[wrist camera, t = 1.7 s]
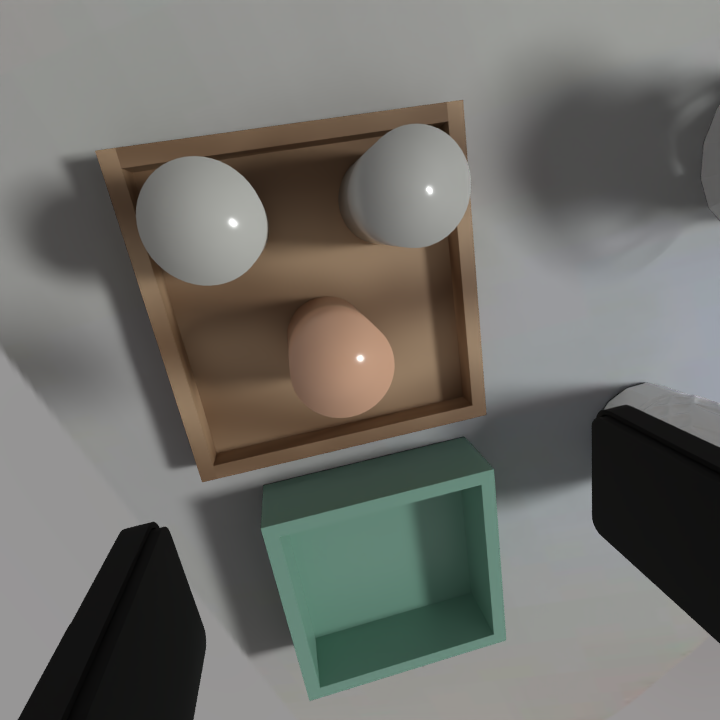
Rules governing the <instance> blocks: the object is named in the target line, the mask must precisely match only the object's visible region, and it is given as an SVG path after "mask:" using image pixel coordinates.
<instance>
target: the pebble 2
mask: <svg viewBox="0 0 720 720" xmlns="http://www.w3.org/2000/svg"><path fill="white" fill-rule="evenodd" d="M470 193H471V176H470V170H469V166H468V163H467V160H466V158H465V155H464V154H463V152H462V150H461V148H460V147H459V146H458V144H457V143H456V142H455V141H454V140H453V139H452V138H451V137H450V136H449V135H448V134H446V133H445V132H443V131H442V130H440V129H438V128H436V127H433V126H430V125H426V124H408V125H403V126H400V127H397V128H395V129H393V130H391V131H389V132H388V133H386V134H385V135H384V136H383V137H381V138H380V139H379V140H378V141H377V142H376V143H375V144H374V145H373V146H372V147H371V148H369V149H368V150H367V151H366V152H365V153H364V154H363V155H362V156H361V157H360V158H359V159H358V160H357V161H355V162H354V163H353V164H352V165H351V166H350V167H349V169H348V170H347V171H346V173H345V175H344V177H343V179H342V181H341V184H340V188H339V194H338V202H339V209H340V213H341V216H342V219H343V220H344V222H345V224H346V226H347V227H348V228H349V230H350V231H351V232H352V233H353V234H354V235H356V236H357V237H358V238H360V239H362V240H364V241H366V242H369V243H373V244H380V245H389V246H398V247H407V248H421V247H426V246H430V245H432V244H435V243H437V242H439V241H441V240H442V239H444V238H445V237H447V236H448V235H449V234H450V233H451V232H452V231H453V230H454V229H455V228H456V227H457V225H458V224H459V223H460V221H461V219H462V218H463V216H464V214H465V212H466V209H467V206H468V203H469V199H470Z"/></svg>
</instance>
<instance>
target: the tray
mask: <svg viewBox="0 0 720 720" xmlns="http://www.w3.org/2000/svg"><path fill="white" fill-rule="evenodd" d="M408 124H426V125H430V126H433V127H436V128H438V129H440V130H442V131H443V132H445V133H446V134H448V135H449V136H450V137H451V138H452V139H453V140H454V141H455V142H456V143H457V144H458V146H459V147H460V148H461V150H462V152H463V154H464V155H465V158H466V160H467V147H466V134H465V120H464V107H463V100H459V101H452V102H444V103H437V104H430V105H423V106H415V107H408V108H401V109H394V110H387V111H379V112H372V113H365V114H358V115H350V116H343V117H336V118H329V119H321V120H314V121H307V122H300V123H293V124H285V125H278V126H271V127H264V128H256V129H249V130H242V131H235V132H227V133H220V134H213V135H206V136H199V137H191V138H184V139H177V140H170V141H162V142H155V143H148V144H141V145H133V146H126V147H119V148H112V149H105V150H97V151H95V152H96V155H97V158H98V161H99V164H100V167H101V170H102V173H103V176H104V180H105V183H106V186H107V189H108V192H109V195H110V198H111V201H112V204H113V207H114V211H115V214H116V217H117V220H118V223H119V226H120V229H121V232H122V235H123V238H124V241H125V245H126V248H127V251H128V254H129V257H130V260H131V263H132V266H133V269H134V272H135V276H136V279H137V282H138V285H139V288H140V291H141V294H142V297H143V300H144V303H145V307H146V310H147V313H148V316H149V319H150V322H151V325H152V328H153V331H154V334H155V338H156V341H157V344H158V347H159V350H160V353H161V356H162V359H163V362H164V365H165V368H166V372H167V375H168V378H169V381H170V384H171V387H172V390H173V393H174V396H175V399H176V403H177V406H178V409H179V412H180V415H181V418H182V421H183V424H184V427H185V430H186V434H187V437H188V440H189V443H190V446H191V449H192V452H193V455H194V458H195V461H196V464H197V468H198V471H199V474H200V477H201V480H202V482H206V481H210V480H214V479H218V478H222V477H227V476H231V475H235V474H239V473H244V472H248V471H252V470H256V469H260V468H265V467H269V466H273V465H277V464H281V463H286V462H290V461H294V460H298V459H303V458H307V457H311V456H315V455H319V454H324V453H328V452H332V451H336V450H340V449H345V448H349V447H353V446H357V445H362V444H366V443H370V442H374V441H378V440H383V439H387V438H391V437H395V436H399V435H404V434H408V433H412V432H416V431H421V430H425V429H429V428H433V427H437V426H442V425H446V424H450V423H454V422H459V421H463V420H467V419H471V418H475V417H480V416H484V415H486V402H485V389H484V375H483V362H482V349H481V335H480V322H479V308H478V295H477V281H476V268H475V255H474V241H473V228H472V214H471V201H470V199H469V203H468V206H467V209H466V212H465V214H464V216H463V218H462V219H461V221H460V223H459V224H458V225H457V227H456V228H455V229H454V230H453V231H452V232H451V233H450V234H449V235H448V236H447V237H445V238H444V239H442V240H441V241H439V242H437V243H435V244H432V245H430V246H426V247H421V248H407V247H398V246H389V245H380V244H373V243H369V242H366V241H364V240H362V239H360V238H358V237H357V236H356V235H354V234H353V233H352V232H351V231H350V230H349V228H348V227H347V226H346V224H345V222H344V220H343V219H342V216H341V213H340V209H339V202H338V194H339V188H340V184H341V181H342V179H343V177H344V175H345V173H346V171H347V170H348V169H349V167H350V166H351V165H352V164H353V163H354V162H355V161H357V160H358V159H359V158H360V157H361V156H362V155H363V154H364V153H365V152H366V151H367V150H368V149H369V148H371V147H372V146H373V145H374V144H375V143H376V142H377V141H378V140H379V139H380V138H381V137H383V136H384V135H385V134H386V133H388V132H389V131H391V130H393V129H395V128H397V127H400V126H403V125H408ZM188 156H200V157H207V158H212V159H215V160H218V161H220V162H222V163H225V164H227V165H229V166H230V167H232V168H233V169H235V170H236V171H237V172H239V173H240V174H241V175H242V176H243V177H244V178H245V179H246V180H247V181H248V182H249V183H250V185H251V186H252V187H253V189H254V190H255V192H256V194H257V195H258V197H259V199H260V201H261V202H262V204H263V206H264V208H265V210H266V213H267V216H268V221H269V237H268V241H267V244H266V246H265V249H264V250H263V252H262V254H261V255H260V256H259V258H258V259H257V260H256V262H255V263H254V264H253V265H252V267H251V268H250V269H249V270H248V271H247V272H245V273H244V274H243V275H241V276H240V277H238V278H236V279H235V280H232V281H230V282H227V283H224V284H220V285H212V286H203V285H195V284H191V283H187V282H185V281H182V280H180V279H177V278H176V277H174V276H172V275H170V274H169V273H167V272H166V271H165V270H163V269H162V268H161V267H160V266H159V265H158V264H157V263H156V262H155V261H154V260H153V259H152V258H151V256H150V255H149V253H148V252H147V250H146V249H145V247H144V245H143V243H142V241H141V238H140V235H139V232H138V228H137V221H136V206H137V200H138V197H139V194H140V191H141V189H142V187H143V185H144V183H145V182H146V180H147V179H148V177H149V176H150V175H151V174H152V173H153V172H154V171H155V170H156V169H158V168H159V167H160V166H162V165H163V164H165V163H167V162H169V161H172V160H174V159H177V158H182V157H188ZM467 163H468V160H467ZM323 296H332V297H338V298H341V299H344V300H346V301H348V302H349V303H351V304H352V305H353V306H355V307H356V308H357V309H358V310H359V311H360V312H361V313H362V314H363V315H364V316H365V317H366V318H367V319H368V320H369V321H370V322H371V323H372V324H373V325H374V326H375V327H376V328H377V329H379V330H380V332H381V333H382V334H383V335H384V336H385V337H386V339H387V340H388V342H389V344H390V346H391V348H392V351H393V355H394V363H395V368H394V375H393V379H392V382H391V385H390V387H389V389H388V391H387V392H386V394H385V396H384V397H383V398H382V399H381V400H380V401H379V402H378V403H377V404H376V405H375V406H374V407H372V408H371V409H369V410H368V411H366V412H364V413H362V414H359V415H356V416H353V417H347V418H332V417H327V416H324V415H321V414H318V413H316V412H314V411H313V410H311V409H310V408H308V407H307V406H306V405H305V404H304V403H303V402H302V401H301V400H300V399H299V397H298V396H297V394H296V392H295V390H294V388H293V386H292V382H291V377H290V368H289V357H288V345H287V329H288V325H289V322H290V320H291V318H292V316H293V314H294V313H295V312H296V311H297V309H298V308H299V307H300V306H302V305H303V304H304V303H306V302H308V301H309V300H312V299H314V298H318V297H323Z"/></svg>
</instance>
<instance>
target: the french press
mask: <svg viewBox="0 0 720 720" xmlns="http://www.w3.org/2000/svg"><path fill="white" fill-rule="evenodd" d="M701 181H702V185H703V189H704V192H705V196H706V200H707V203H708V207H709V209H710V210H711V211H712V212H713V213H714V214H715V215H716V217H717V218H718V219H719V220H720V105H719V106H718V108H717V110H716V113H715V115H714V118H713V121H712V123H711V126H710V128H709V131H708V134H707V136H706V139H705V141H704V145H703V157H702V170H701Z"/></svg>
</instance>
